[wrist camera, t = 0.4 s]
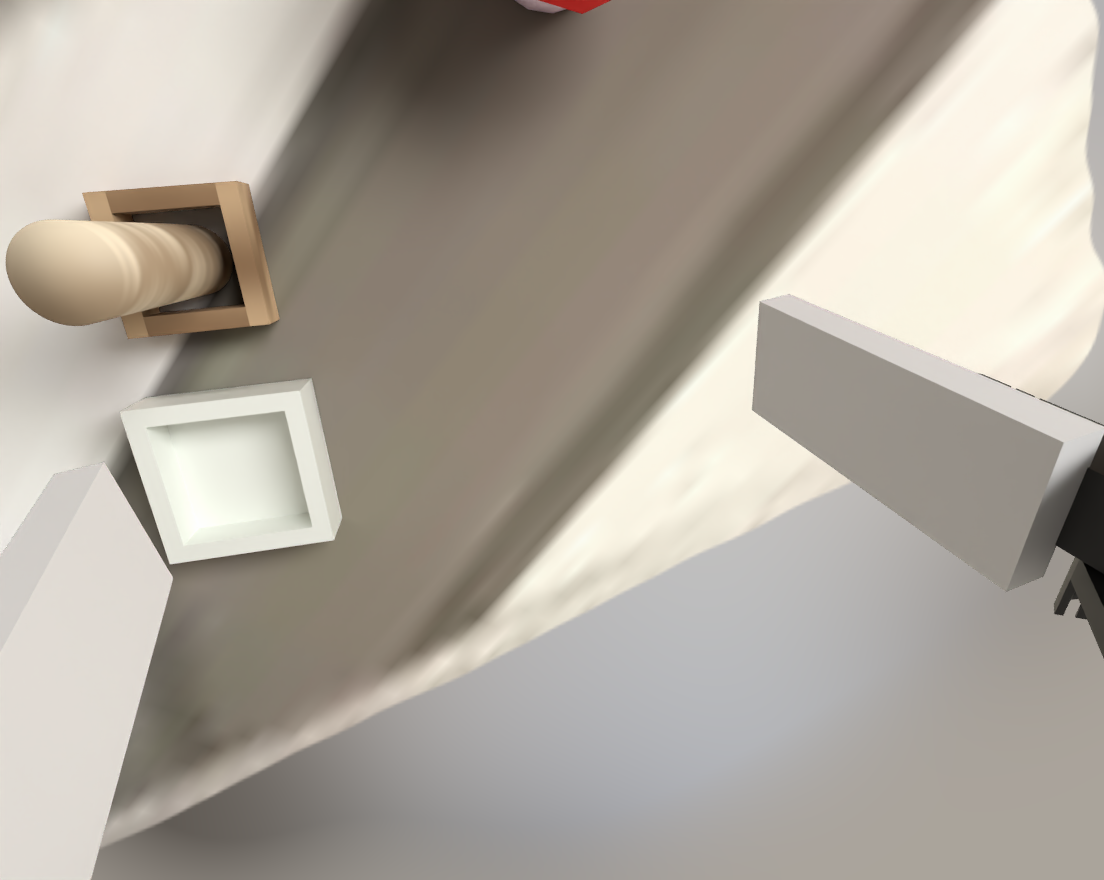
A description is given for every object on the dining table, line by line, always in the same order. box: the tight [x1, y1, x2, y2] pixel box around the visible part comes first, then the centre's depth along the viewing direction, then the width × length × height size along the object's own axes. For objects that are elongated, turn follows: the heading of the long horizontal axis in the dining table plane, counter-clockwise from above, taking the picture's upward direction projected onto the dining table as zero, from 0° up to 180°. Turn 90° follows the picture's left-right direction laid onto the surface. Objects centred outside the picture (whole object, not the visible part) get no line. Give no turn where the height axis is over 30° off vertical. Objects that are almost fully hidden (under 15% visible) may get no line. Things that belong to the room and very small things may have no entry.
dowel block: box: [82, 181, 279, 339], centre depth 32 cm, size 7×7×2 cm
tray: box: [119, 378, 342, 564], centre depth 35 cm, size 9×9×3 cm
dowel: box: [6, 220, 233, 326], centre depth 27 cm, size 4×4×12 cm
